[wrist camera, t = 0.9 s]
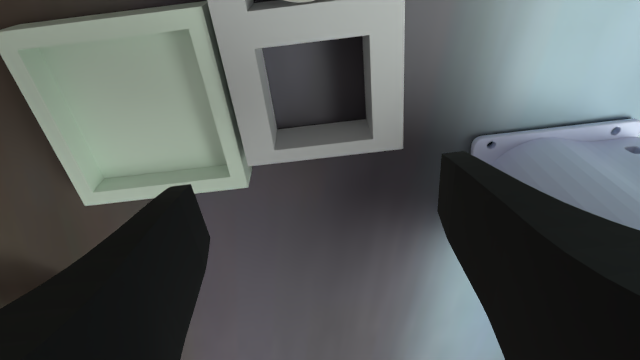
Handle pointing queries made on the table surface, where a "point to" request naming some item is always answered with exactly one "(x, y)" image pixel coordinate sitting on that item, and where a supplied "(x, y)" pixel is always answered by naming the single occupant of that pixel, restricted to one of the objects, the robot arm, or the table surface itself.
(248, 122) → the gray rectangular frame
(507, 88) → the table surface
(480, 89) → the table surface
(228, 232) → the table surface
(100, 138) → the parts tray
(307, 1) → the fuse
